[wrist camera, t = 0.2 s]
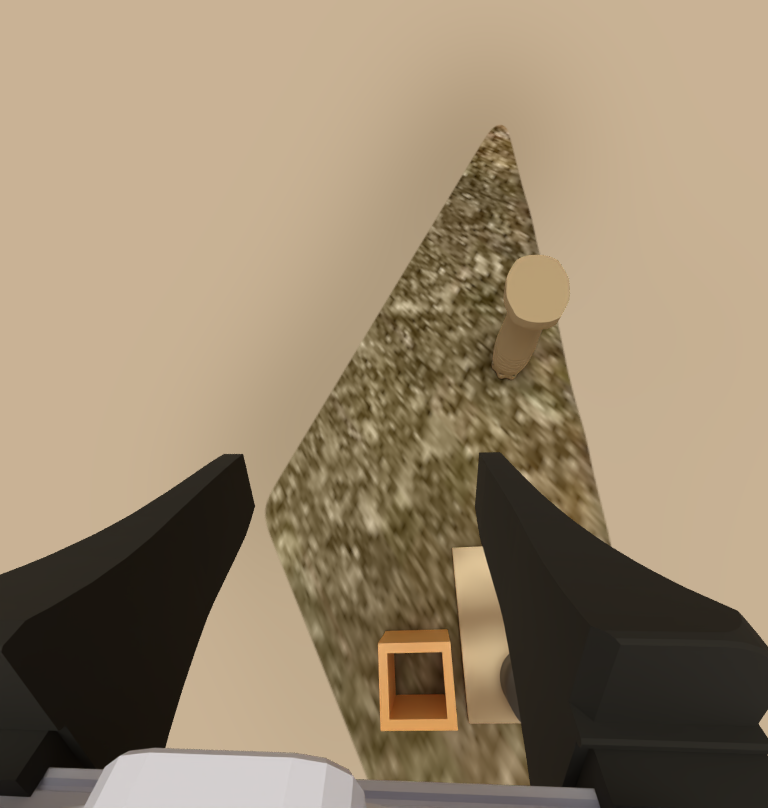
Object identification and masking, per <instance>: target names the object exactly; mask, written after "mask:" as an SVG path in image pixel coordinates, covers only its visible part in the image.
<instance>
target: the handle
mask: <svg viewBox="0 0 768 808" xmlns="http://www.w3.org/2000/svg"><path fill="white" fill-rule="evenodd" d="M569 297H570V287H569V279H568V276H567V274H566V272H565V270H564V269H563V267H562V266H561V264H560V263H559V261H558V260H556V259H554V258H552V257H548V256H544V255H529V256H524V257H522V258H519V259H517V260H516V262H515V263H514V265H513V267H512V268H511V270H510V272H509V274H508V276H507V279H506V283H505V288H504V304H505V307H506V310H507V315H506V317H505V320H504V322H503V324H502V327H501V329H500V331H499V334H498V336H497V339H496V343H495V346H494V352H493V360H492V369H493V370H495V371H496V373H497V375H498V378H500V379H503V378H508V379H510V380H512V379H514V378H515V377H516V376H517V373H519V372H520V371H521V370H522V369H523V368H524V367H525V366H526V364H527V363H528V361H529V360H530V358H531V356H532V355H533V353H534V351H535V348H536V345H537V343H538V340H539V337H540V334H541V332H542V329H547V328H550V327H552V326H554V325H556V324H557V322H558V320H559V319H560V317H561V315H562V313H563V312H564V310H565V308H566V306H567V304H568V301H569Z"/></svg>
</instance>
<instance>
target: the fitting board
mask: <svg viewBox="0 0 768 808" xmlns="http://www.w3.org/2000/svg"><path fill="white" fill-rule="evenodd" d="M452 555H453V566H454V576H455V587H456V598H457V608H458V619H459V629H460V640H461V651H462V661H463V672H464V682H465V693H466V704H467V714H468V721H469V724H477V723H521V719H520V713H519V707H518V700H517V694H516V689H515V683H514V677H513V671H512V665H511V660H510V654H509V649H508V643H507V638H506V633H505V627H504V622H503V618H502V614H501V610H500V605H499V602H498V599H497V595H496V592H495V588H494V585H493V581H492V578H491V574H490V571H489V568H488V564H487V561H486V557H485V554H484V550H483V547H460V548H452Z"/></svg>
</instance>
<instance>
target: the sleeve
mask: <svg viewBox="0 0 768 808" xmlns="http://www.w3.org/2000/svg"><path fill="white" fill-rule="evenodd" d="M422 652H442V661H443V673H444V686H445V694H416V695H396V684H395V661H394V653H422ZM378 659H379V691H380V722H381V731H435V730H458V726H457V714H456V702H455V691H454V679H453V668H452V656H451V645H450V638H449V634H448V629H436V630H401V631H385V633H384V635H383V636H382V638H381V640H380V641H379V643H378Z"/></svg>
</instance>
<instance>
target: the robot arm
mask: <svg viewBox="0 0 768 808" xmlns="http://www.w3.org/2000/svg"><path fill="white" fill-rule="evenodd" d="M254 508H255V504H254V500H253V496H252V491H251V487H250V483H249V478H248V474H247V469H246V465H245V460H244V456H243V454H224V455H222V456H220V457H218V458H217V459H215V460H213V461H212V462H210V463H209V464H207V465H206V466H204V467H203V468H202V469H200V470H199V471H197V472H196V473H194V474H193V475H191V476H190V477H188V478H187V479H185V480H184V481H183V482H181V483H180V484H178V485H177V486H175V487H174V488H172V489H171V490H169V491H168V492H166V493H165V494H163V495H161V496H160V497H158V498H157V499H155V500H153V501H152V502H150V503H149V504H147V505H146V506H144V507H142V508H141V509H139V510H138V511H136V512H134V513H133V514H131V515H129V516H127V517H126V518H124V519H122V520H120V521H119V522H117V523H115V524H113V525H111V526H109V527H107V528H105V529H104V530H102V531H100V532H98V533H96V534H94V535H92V536H90V537H88V538H86V539H83V540H81V541H79V542H77V543H75V544H73V545H70V546H68V547H66V548H64V549H62V550H60V551H58V552H55V553H54V554H51V555H49V556H46V557H44V558H41V559H39V560H37V561H34V562H32V563H29V564H27V565H25V566H22V567H19V568H16V569H14V570H11V571H9V572H6V573H3V574H1V575H0V808H768V755H767V754H768V738H767V736H766V735H765V733H764V732H763V730H762V729H761V727H760V726H759V724H758V723H759V722H760V720H761V719H762V717H763V716H764V714H765V713H766V711H767V710H768V646H767V645H766V644H765V643H764V641H763V640H762V639H761V637H760V636H759V635H758V634H757V633H756V631H755V630H754V629H753V628H752V627H751V625H750V624H749V623H748V622H747V621H746V619H745V618H744V617H743V616H742V615H741V614H740V613H739V612H738V611H737V610H735V609H732V608H730V607H728V606H725V605H723V604H721V603H719V602H717V601H714V600H712V599H710V598H708V597H705V596H703V595H701V594H699V593H696V592H694V591H692V590H689V589H687V588H685V587H683V586H681V585H679V584H677V583H675V582H673V581H671V580H669V579H667V578H665V577H663V576H662V575H660V574H658V573H656V572H654V571H652V570H650V569H648V568H646V567H645V566H643V565H641V564H639V563H637V562H635V561H634V560H632V559H630V558H629V557H627V556H626V555H624V554H622V553H620V552H619V551H617V550H616V549H614V548H612V547H611V546H609V545H608V544H606V543H604V542H603V541H601V540H600V539H598V538H597V537H595V536H594V535H593V534H591V533H590V532H588V531H587V530H586V529H584V528H583V527H581V526H580V525H579V524H577V523H576V522H575V521H573V520H572V519H571V518H569V517H568V516H567V515H566V514H564V513H563V512H562V511H561V510H560V509H558V508H557V507H556V506H555V505H554V504H552V503H551V502H550V501H549V500H548V499H547V498H546V497H544V496H543V495H542V494H541V493H540V492H539V491H538V490H537V489H536V488H535V487H534V486H533V485H532V484H531V483H530V482H529V481H528V480H527V479H526V478H525V477H524V476H523V475H522V474H521V473H520V472H519V471H518V470H517V469H516V468H515V467H514V466H513V465H512V464H511V463H510V462H509V461H508V460H507V459H506V458H505V457H504V456H503V455H502V454H501V453H500V452H493V453H479V464H478V476H477V489H476V501H475V509H476V516H477V523H478V529H479V535H480V539H481V543H482V547H483V550H484V554H485V557H486V561H487V564H488V568H489V571H490V574H491V578H492V581H493V585H494V588H495V592H496V595H497V599H498V602H499V605H500V610H501V614H502V618H503V622H504V627H505V633H506V638H507V643H508V649H509V654H510V660H511V665H512V671H513V677H514V683H515V689H516V694H517V700H518V707H519V713H520V719H521V726H522V732H523V738H524V744H525V751H526V758H527V765H528V772H529V779H530V786H519V785H493V784H467V783H441V782H416V781H390V780H364V779H355V778H354V776H353V775H352V773H351V772H350V771H349V769H347V768H345V767H343V766H340V765H339V764H337V763H335V762H332V761H330V760H329V759H327V758H323V757H317V756H311V755H305V754H299V753H285V752H256V751H228V750H200V749H199V750H198V749H170V748H165V747H166V743H167V739H168V735H169V732H170V729H171V725H172V722H173V719H174V715H175V712H176V709H177V705H178V702H179V699H180V695H181V693H182V689H183V686H184V683H185V680H186V677H187V674H188V671H189V668H190V665H191V662H192V659H193V656H194V653H195V650H196V647H197V645H198V642H199V639H200V636H201V633H202V631H203V628H204V625H205V622H206V620H207V617H208V615H209V613H210V610H211V608H212V606H213V603H214V601H215V599H216V597H217V595H218V592H219V591H220V588H221V587H222V584H223V582H224V580H225V578H226V576H227V574H228V572H229V570H230V568H231V566H232V564H233V562H234V560H235V557H236V555H237V553H238V551H239V549H240V547H241V544H242V543H243V540H244V538H245V536H246V533H247V530H248V527H249V524H250V521H251V518H252V514H253V511H254Z"/></svg>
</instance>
